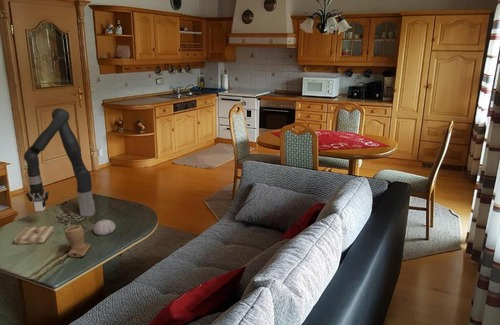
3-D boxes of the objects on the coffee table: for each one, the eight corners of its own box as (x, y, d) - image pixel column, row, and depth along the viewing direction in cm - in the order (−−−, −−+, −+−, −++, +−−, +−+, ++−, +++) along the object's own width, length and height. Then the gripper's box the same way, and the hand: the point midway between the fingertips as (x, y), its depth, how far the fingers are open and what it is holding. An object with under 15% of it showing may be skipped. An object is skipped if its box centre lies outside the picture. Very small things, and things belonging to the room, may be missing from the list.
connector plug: (45, 208, 267) (43, 196, 264) (42, 210, 262) (40, 199, 260) (38, 208, 266) (36, 197, 264) (35, 211, 262) (33, 199, 260)
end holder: (53, 232, 256) (53, 226, 255) (43, 244, 241) (42, 237, 240) (27, 233, 255) (26, 227, 254) (15, 244, 240) (14, 238, 239)
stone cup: (72, 246, 238) (68, 222, 234) (92, 245, 239) (89, 222, 235) (61, 259, 224) (58, 234, 219) (83, 258, 224) (80, 233, 220)
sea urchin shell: (92, 238, 249) (91, 225, 246) (94, 228, 261) (93, 217, 259) (115, 235, 252) (114, 223, 250) (116, 226, 265) (115, 215, 262)
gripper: (49, 179, 263) (53, 204, 268) (26, 180, 262) (31, 205, 267) (44, 183, 256) (48, 208, 261) (21, 184, 255) (26, 209, 260)
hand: (39, 206), depth 264 cm, fingers closed on connector plug, 4 cm apart
